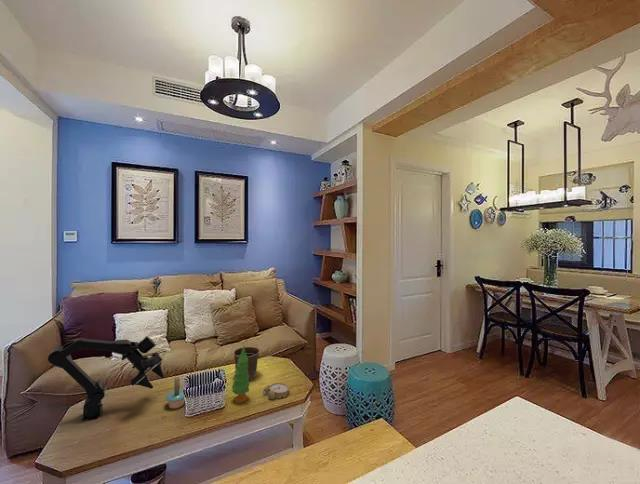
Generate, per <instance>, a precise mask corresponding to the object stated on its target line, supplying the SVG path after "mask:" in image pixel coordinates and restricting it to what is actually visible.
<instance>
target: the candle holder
mask: <svg viewBox="0 0 640 484" xmlns="http://www.w3.org/2000/svg"><path fill="white" fill-rule="evenodd" d="M289 389H290V387H289V385H287V384H286V383H282V382H275V383H272V384H270V385H269V384H268V385H265V388H264V389H263V390H262V395H263V396H266V397H268V398H269V399H270V400H274V399H281V398H280V397H284V396H286V395H287V394H288V395H289V393H291V391H290V390H289ZM288 395H287V396H288ZM287 396H286V397H287ZM284 398H285V397H284Z"/></svg>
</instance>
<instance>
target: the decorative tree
mask: <svg viewBox="0 0 640 484" xmlns="http://www.w3.org/2000/svg"><path fill="white" fill-rule="evenodd" d="M242 347H243V349H242V352H241V355H240V357H239V359H238V363H237V365H236V366H237V368H236V367H235V370H234V373H235V374H234V376H233V378H232V381H233V384H232V385H231V389H232V390H231V392H232V393H234V395H237V397H236V398H235V399H234V401H235V402H236V403H238V404H239V402H240V403H244V402H245V401H247V393H248V392H249V391H250V380H248V369H247V368H248V362H247V361H248V358H247V355H246V352H245V347H246V346H242ZM243 401H244V402H243Z"/></svg>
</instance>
